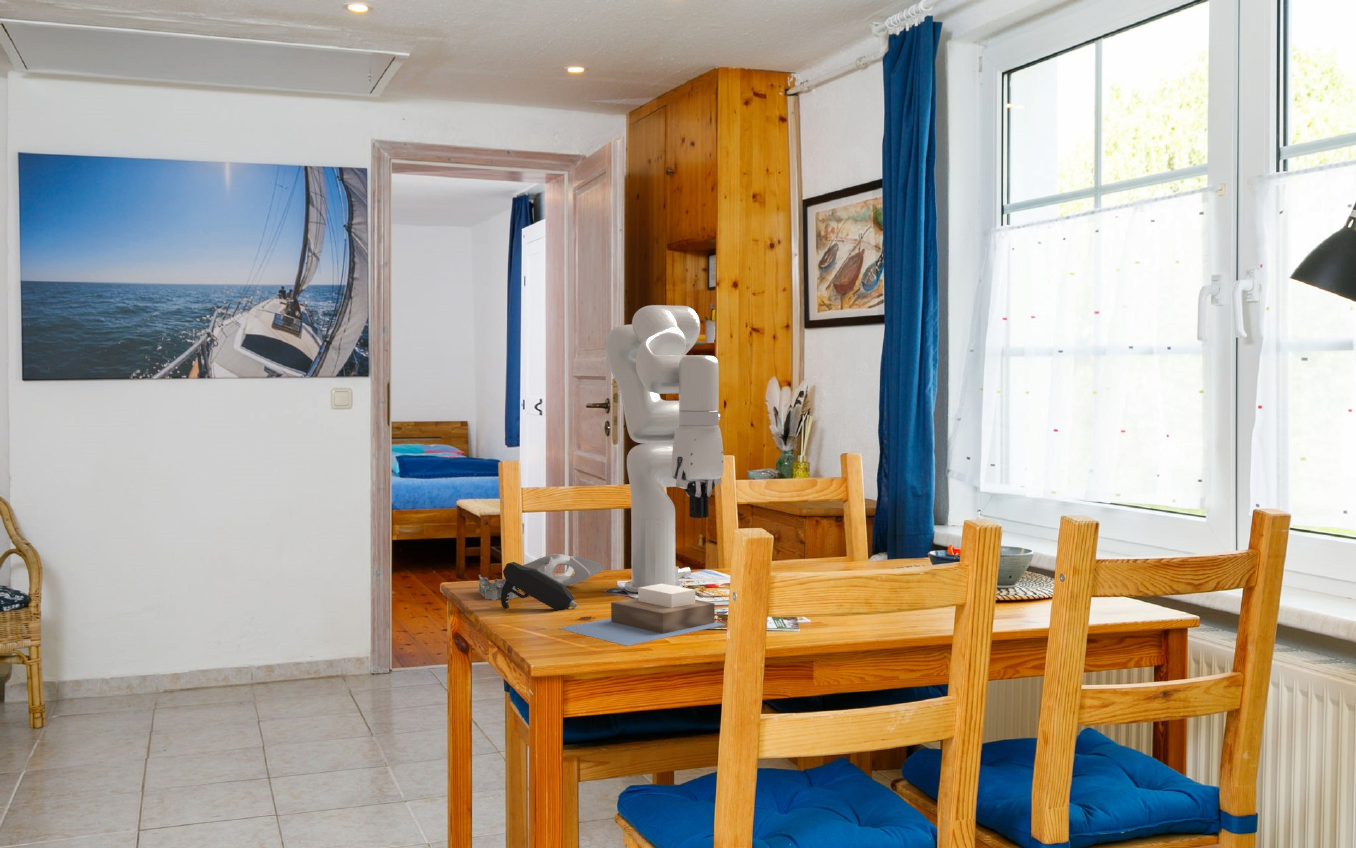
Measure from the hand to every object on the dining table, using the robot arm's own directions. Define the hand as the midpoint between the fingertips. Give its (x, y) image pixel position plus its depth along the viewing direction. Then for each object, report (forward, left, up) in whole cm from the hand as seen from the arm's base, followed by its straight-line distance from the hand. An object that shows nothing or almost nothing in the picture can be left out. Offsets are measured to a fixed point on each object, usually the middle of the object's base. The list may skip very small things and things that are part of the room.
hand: (699, 517), depth 212 cm
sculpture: (-4, -47, -20) cm, 51 cm away
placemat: (+14, 0, -19) cm, 24 cm away
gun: (+17, -27, -20) cm, 38 cm away
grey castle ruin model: (+14, -45, -20) cm, 52 cm away
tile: (+8, 0, -15) cm, 17 cm away
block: (+10, 0, -19) cm, 21 cm away
